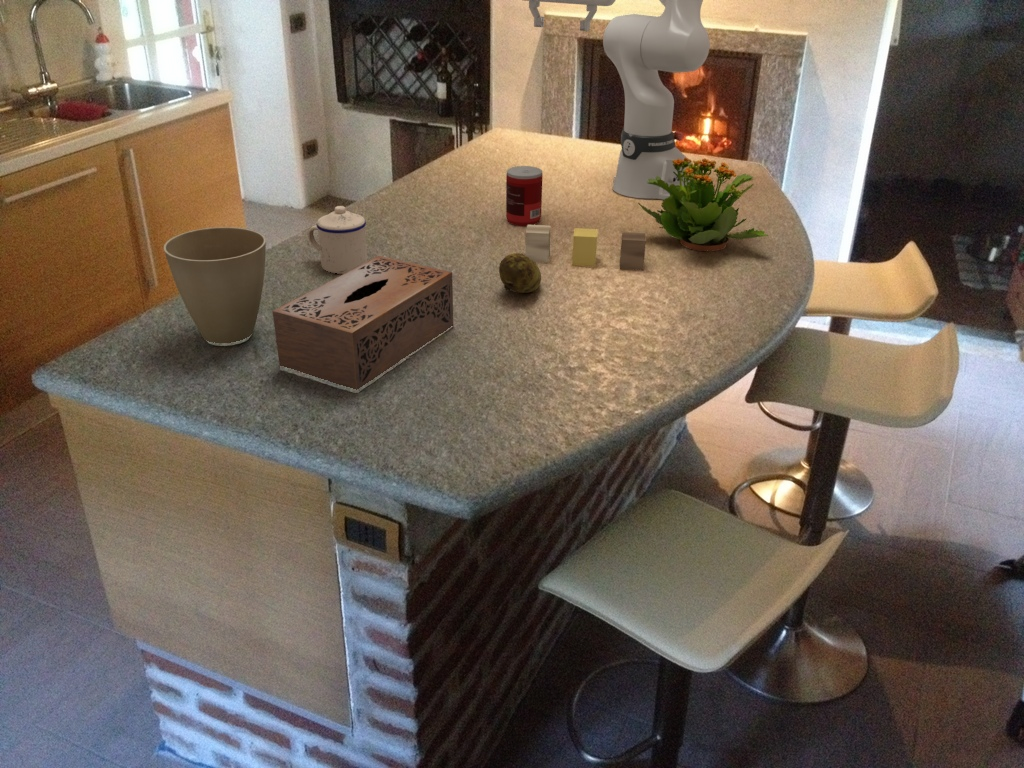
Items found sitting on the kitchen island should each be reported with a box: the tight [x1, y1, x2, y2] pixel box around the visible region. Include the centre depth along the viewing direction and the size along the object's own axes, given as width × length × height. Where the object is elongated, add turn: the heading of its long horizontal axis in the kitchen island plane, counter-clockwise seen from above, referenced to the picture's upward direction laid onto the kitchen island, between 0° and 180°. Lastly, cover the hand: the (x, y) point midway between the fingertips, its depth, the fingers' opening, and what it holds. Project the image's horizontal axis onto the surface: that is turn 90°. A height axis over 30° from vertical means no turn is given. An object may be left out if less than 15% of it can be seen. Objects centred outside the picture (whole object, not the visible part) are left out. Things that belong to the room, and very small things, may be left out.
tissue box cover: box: [272, 255, 454, 390], centre depth 139 cm, size 26×14×10 cm, turn 151°
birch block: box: [524, 224, 552, 264], centre depth 174 cm, size 4×4×6 cm
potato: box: [498, 252, 542, 294], centre depth 159 cm, size 8×13×8 cm, turn 151°
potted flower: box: [637, 156, 769, 253], centre depth 179 cm, size 25×24×18 cm
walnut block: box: [619, 231, 647, 272], centre depth 171 cm, size 4×4×6 cm
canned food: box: [505, 165, 543, 227], centre depth 193 cm, size 8×8×11 cm
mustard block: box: [571, 227, 599, 268], centre depth 173 cm, size 4×4×6 cm
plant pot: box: [163, 226, 267, 343], centre depth 140 cm, size 15×15×16 cm
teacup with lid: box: [307, 205, 368, 275], centre depth 168 cm, size 12×9×12 cm
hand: (561, 28), depth 172 cm, fingers open, 8 cm apart
